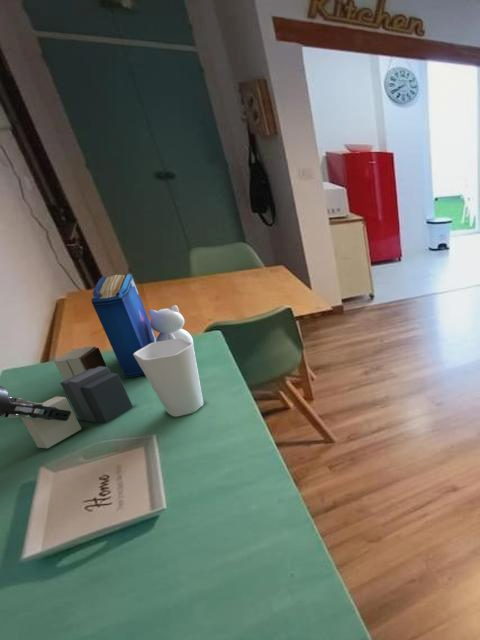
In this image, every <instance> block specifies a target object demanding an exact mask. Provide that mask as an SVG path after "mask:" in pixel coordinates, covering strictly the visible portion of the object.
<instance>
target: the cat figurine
mask: <svg viewBox="0 0 480 640" xmlns="http://www.w3.org/2000/svg"><path fill="white" fill-rule="evenodd" d="M148 314H149V317H150V324H151V326H152V329H153V331H155V332H157V333H159V334H158V335H157V336H156V342H159V341H165V340H172V339H178V338H182V339H184V340H187V341H189V342H191V343H193V344H194V339H193V336H192V335H191V334H190V333H189V331H187V330H185V329H184V328H183V327H184V325H185V318H184V316H183V315H182V314H181V312H180V309H179V307H178V305H176V304H174V305H172V306H171V307H169V308H161V309H159V310H158V309H157V310H155V309H152V308H151V309H149V310H148Z"/></svg>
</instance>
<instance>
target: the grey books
mask: <svg viewBox="0 0 480 640" xmlns="http://www.w3.org/2000/svg"><path fill="white" fill-rule="evenodd" d="M60 385H61V387H62V389H63V391H64V393H65V395H66V398H67V400H68V402H70V403H69V404H70V406H71V408H73V409H72V410H73V412H75V414H76V416H77V418H78V420H81V421H87V422H92V423H97V422H98V423H104V424H105V423H109V422H110V421H112V420H114V419H115V418H117V417H119V416H120V415H122V414H124V413H125V412H127V411H129V410H131V409H132V408H133V407H134V406H133V404H132V402H131V400H130V397H129V395H128V393H127V390H126V388H125V385H124V384H123V381H122V379H121V376H120V373H114V372H111V370H110V368H109V367H108V366H107V367H102V366H99V367H97V368H95V369H92V368H91V369H89V370H86V371H84V372H82V373H80V374H78V375H76V376H74V377H71V378H69V379H67V380H65V381H64V380H63V381H61V382H60Z"/></svg>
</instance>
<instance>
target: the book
mask: <svg viewBox="0 0 480 640" xmlns="http://www.w3.org/2000/svg"><path fill="white" fill-rule="evenodd" d="M92 295H93V297H92V298H91V299H90V301H91V304H92V306H93V309H94V311H95V313H96V316H97V317H98V320H99V322H100V324H101V326H102V329H103V331H104V333H105V335H106V338H107V340H108V342H109V344H110V347H111V349H112V351H113V353H114V355H115V358H116V360H117V362H118V364H119V366H120V369H121V371H122V373H123V375H124V377H125V378H134V377H141V376H143V375H144V376H145V374H144V372H143V370H142V369H141V367H140V365H139V364H138V362H137V360H136V359H135V357H134V355H133V354H134V353H135V352H136V351H138V350H140V349H142V348H143V347H145V346H147V345H149V344H150V343H154V342H156V339H157V336H156V333H155V332H154V331H155V330H154V329H153V328H152V326H151V320H150V318H149V316H148V314H147V311H146V307H145V306H144V303H143V300H142V298H141V295H140V293H139V289H138V288H137V284H136V282H135V279H134V277H133V274H132V273H129V272H128V273H126V274H125V275H124V274H114V275H110V276H105V275H102V276H101V277H100V278H99V279H98V281H97V282H96V284H95V286H94V289H93V291H92Z"/></svg>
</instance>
